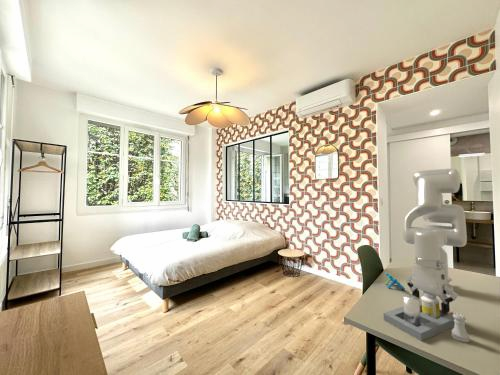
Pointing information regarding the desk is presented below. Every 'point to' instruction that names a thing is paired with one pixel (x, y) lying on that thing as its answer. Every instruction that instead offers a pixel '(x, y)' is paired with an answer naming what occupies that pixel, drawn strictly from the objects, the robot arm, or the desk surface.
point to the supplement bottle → (430, 305)
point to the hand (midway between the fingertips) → (430, 306)
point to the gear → (392, 281)
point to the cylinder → (412, 310)
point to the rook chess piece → (460, 328)
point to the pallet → (430, 324)
